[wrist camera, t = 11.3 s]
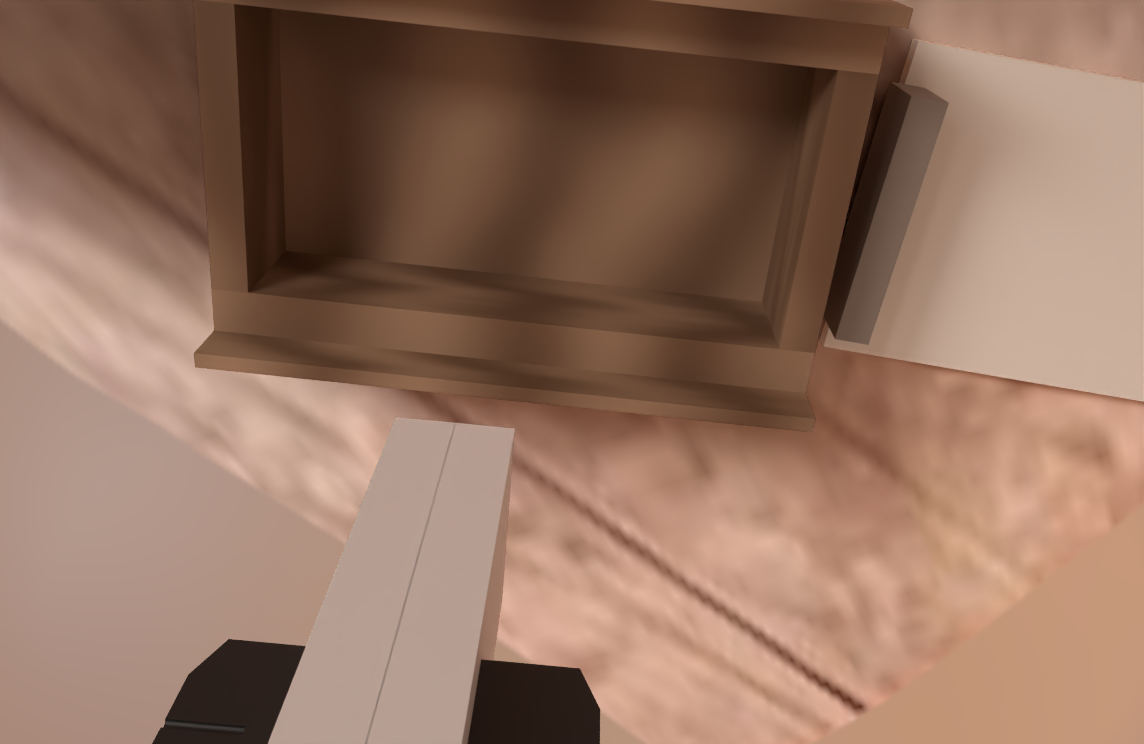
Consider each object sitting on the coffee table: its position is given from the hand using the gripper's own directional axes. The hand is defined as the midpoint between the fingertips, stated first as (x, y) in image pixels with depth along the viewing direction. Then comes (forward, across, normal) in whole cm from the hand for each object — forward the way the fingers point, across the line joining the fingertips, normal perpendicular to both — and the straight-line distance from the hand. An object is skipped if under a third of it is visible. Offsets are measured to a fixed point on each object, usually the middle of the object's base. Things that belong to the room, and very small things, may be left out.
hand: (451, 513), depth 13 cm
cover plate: (+25, +20, -3) cm, 32 cm away
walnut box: (+24, 0, -1) cm, 24 cm away
